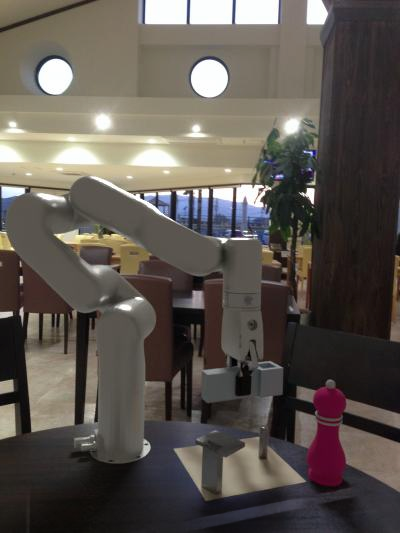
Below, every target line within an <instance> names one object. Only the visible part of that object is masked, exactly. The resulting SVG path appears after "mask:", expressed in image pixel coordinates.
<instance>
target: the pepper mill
mask: <svg viewBox="0 0 400 533" xmlns="http://www.w3.org/2000/svg"><path fill="white" fill-rule="evenodd" d="M312 402H313V403H312V404H313V406H314V408H315V409H316V411H315V412H314V415H315V416H314V420H315V422H316V426H317V427H316V433H315V436H314V437H313V440H312V441H311V443H310V445H309V447H308V450H307V453H306V463H307V465H308V467H309V469H308V473H307V475H308V478H309V479H310V480H312V481H313V482H314V483H316V484H319V485H321V486H324V487H325V486H326V487H327V486H328V487H336V486H339V485H341V484H342V483H343V479H344V478H343V475H342V473H344V472H345V470H346V468H347V458H346V453H345V452H344V451H345V450H344V447H343V445H342V444H341V439H340V425H342V424H343V412H344V411H345V410H346V408H347V399H346V395H345V394H344V393H343V392H342V391H341V390H340V389H338V388H336V382H335V380H332V379H327V381H326V382H325V386H322V387H320V388H318V389H317V390H316V391H315V392H314V395H313V399H312ZM339 490H340V488H339V489H334V490H330V491H328V492H329V493H330V492H331V493H332V492H338V491H339Z"/></svg>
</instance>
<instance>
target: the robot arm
mask: <svg viewBox="0 0 400 533" xmlns="http://www.w3.org/2000/svg"><path fill="white" fill-rule="evenodd" d="M4 219H5V220H4V221H5V224H4V225H5V232H6V236H7V239H8V242H9V244H10V245H11V247H12V248H13V250H14V251H15V253H16V254H17V255H18V256H19V257H20V259H21V260H23V262H25V264H27V265H28V266H29V267H30V268H31V269H32V270H33V271H34V272H35V273H37V274H38V275H39V276H40V278H41V279H43V281H44V282H45V283H46V285H48V286H49V287H50V288H51V289H52V290H53V291H54V292H56V294H58V296H60V297H61V299H62V300H64V301H65V302H66V303H67V305H69V306H70V307H71V308H72V309H73V310H74V311H77V312H78V313H83V314H88V313H93V312H96V311H99V312H100V313H101V315H100V317H99V318H98V321H97V324H96V326H95V327H96V328H95V341H96V349H97V359H98V363H97V364H98V371H97V372H98V373H97V374H98V377H97V378H98V386H97V387H98V390H97V392H98V398H97V399H98V402H97V428H96V429H94V433H92V434H90V435H89V436H84V437H83V436H80V437H73V446H74V448H75V449H76V448H81V452H89V453H90V455H91V456H92V457H93V459H96V460H97V461H100V462H104V463H108V464H126V463H132V462H135V461H138V460H141V459H142V458H145V456H147V455H148V454H149V453H150V451H151V448H152V447H151V444H150V442H149V441H148V440H147V439H146V438H145V410H146V409H145V403H146V402H145V401H146V400H145V399H146V357H145V348H144V346H145V339H146V338H147V337H149V335H150V334H151V333H153V330H154V329H155V327H156V323H157V315H156V311H155V308H154V307H153V306H152V304H151V303H150V301H148V300H147V298H146V297H145V296H144V295H142V294H141V293H140V292H139V290H138V289H136V288H135V287H134V286H133V285H132V284H131V283H130V282H129V281H128V280H126V279H125V277H123V276H122V274H120V273H119V272H117V271H116V270H115V269H113V268H111V267H110V266H107V265H103V264H95V265H94V264H93V265H92V264H90V263H88V262H87V261H86V260H84V259H83V258H82V256H80V255H79V254H78V253H77V252H76V251H75V250H74V249H73V248H72V247H70V245H69V244H67V243H65V242H64V241H62V240H61V239H60V238H59V237H57V235H61V234H67V233H70V232H74V231H77V230H81V229H84V228H85V227H90V226H93V225H99V226H101V227H102V228H105V229H106V230H109V231H111V232H113V233H115V234H117V235H119V236H120V237H122V238H124V239H126V240H127V241H130V242H131V243H133V244H134V245H136V246H137V247H139V248H140V249H143V250H144V251H146V252H147V253H149V254H150V255H152V256H154V257H156V258H158V259H159V260H161V261H162V262H164V263H166V264H168V265H171V266H172V267H175V268H176V269H179V271H182V272H185V273H186V274H188V275H191V276H195V277H205V276H209V275H210V274H212V273H215V272H222V299H221V300H222V302H221V304H222V306H221V307H222V309H223V312H222V320H221V334H220V335H221V336H220V338H221V339H220V341H221V343H220V345H221V350H222V352H223V353H224V355H225V358H226V368H227V367H236V366H238V376H236V386H235V395H236V396H246V395H250V394H251V379H252V375H253V371H254V370H255V369H257V368H258V367H259V365H258V362H261V361H262V360H263V358H264V325H263V324H264V322H263V317H262V311H261V308H262V307H261V306H262V304H261V303H262V302H261V301H262V299H261V298H262V278H263V277H262V276H263V275H262V273H263V243H262V241H261V240H260V239H258V238H254V237H253V238H252V237H229V238H222V237H218V236H217V237H215V236H210V235H203V234H200V233H198V232H196V231H195V230H192V229H190V228H188V227H186V226H185V225H182V224H180V223H179V222H177V221H175V220H173V219H172V218H169V217H168V216H166V215H165V214H163V213H162V212H161V211H160V210H159V209H158V208H157V207H156V206H155V205H154V204H152V203H150V202H148V201H146V200H143V199H142V198H140V197H138V196H135V195H134V194H132V193H130V192H128V191H126V190H124V189H122V188H120V187H119V186H117V185H116V184H115V183H113V182H111V181H108V180H106V179H103V178H100V177H97V176H94V175H86V176H81V177H78V178H77V179H76V180H75V181H74V182H73V184H71V187H70V188H69V192H68V193H65V194H60V195H55V194H49V193H43V192H38V191H37V192H34V191H32V192H25V193H22V194H20V195H18V196H16V197H15V198H14V199H13V200H12V201H11V202H10V204H9V206H7V210H6V214H5V218H4ZM243 366H244V367H243Z"/></svg>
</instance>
